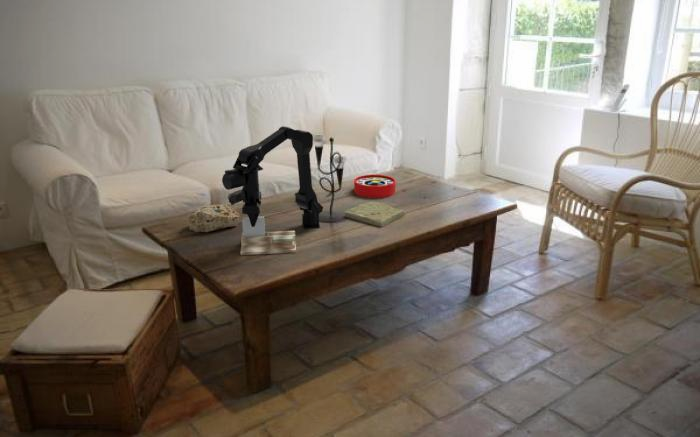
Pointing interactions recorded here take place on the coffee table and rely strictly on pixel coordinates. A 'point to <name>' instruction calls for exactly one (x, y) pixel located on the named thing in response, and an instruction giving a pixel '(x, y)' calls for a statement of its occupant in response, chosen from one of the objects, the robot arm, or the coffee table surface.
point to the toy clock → (374, 186)
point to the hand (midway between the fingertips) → (253, 223)
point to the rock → (213, 218)
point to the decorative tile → (375, 213)
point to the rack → (264, 244)
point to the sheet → (253, 231)
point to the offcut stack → (282, 242)
